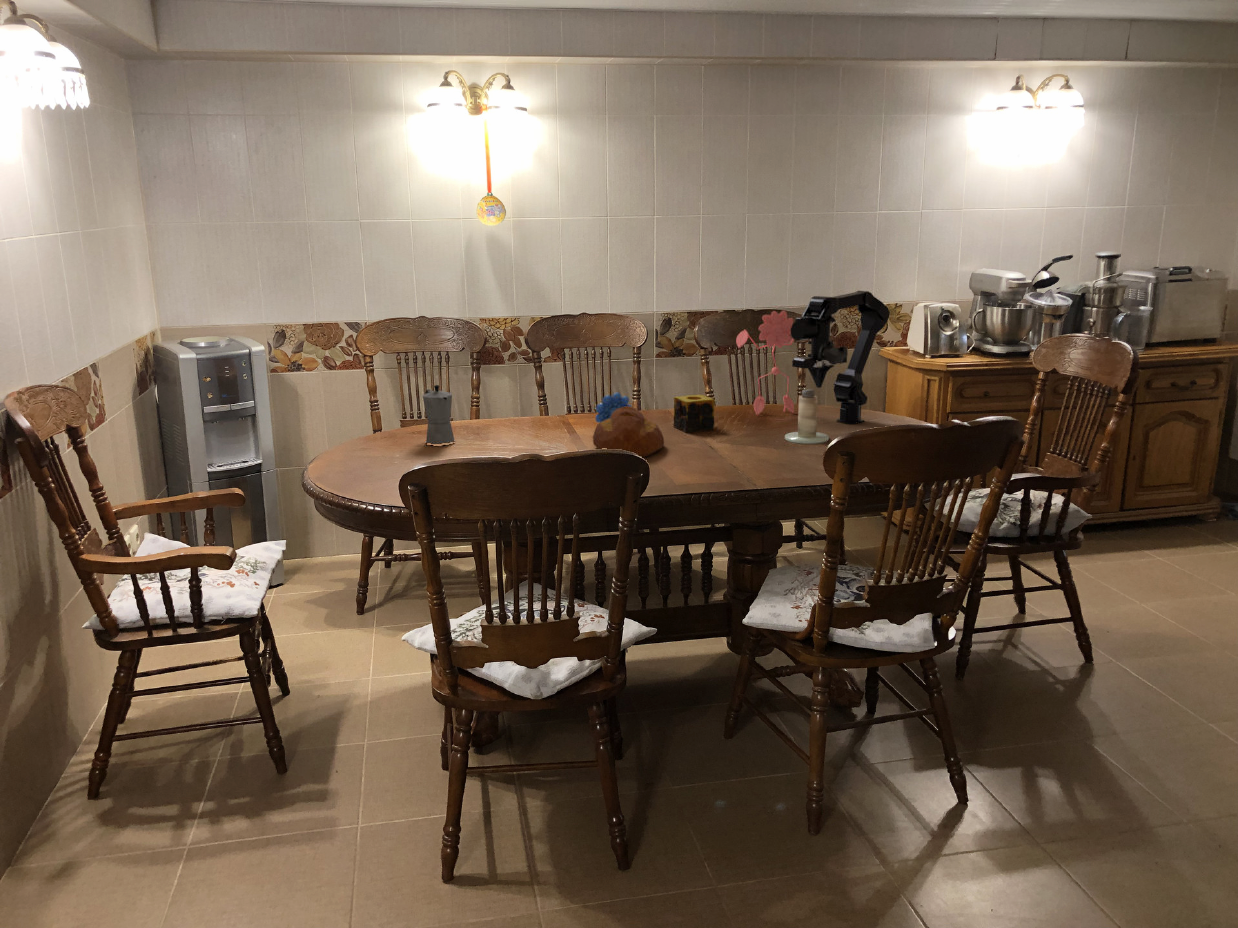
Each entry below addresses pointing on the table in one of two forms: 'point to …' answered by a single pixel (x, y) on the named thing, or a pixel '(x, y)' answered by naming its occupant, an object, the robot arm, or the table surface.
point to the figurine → (774, 334)
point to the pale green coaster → (795, 439)
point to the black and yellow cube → (693, 413)
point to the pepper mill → (807, 414)
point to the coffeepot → (438, 416)
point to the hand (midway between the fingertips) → (818, 387)
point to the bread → (628, 432)
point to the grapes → (610, 406)
